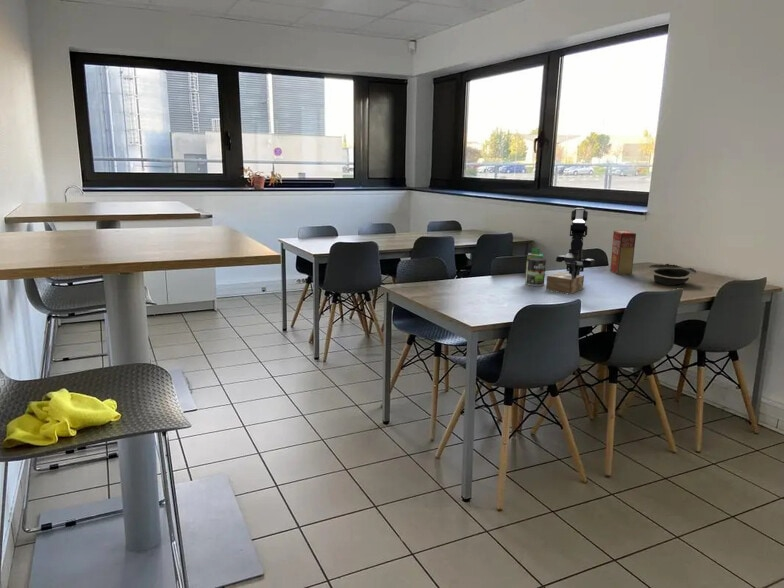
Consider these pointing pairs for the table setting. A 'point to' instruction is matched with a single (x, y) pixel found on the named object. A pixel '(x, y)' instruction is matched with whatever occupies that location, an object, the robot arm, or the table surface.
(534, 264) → the coffee can
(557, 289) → the carton
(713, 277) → the table surface
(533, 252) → the chalk box
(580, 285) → the side flap
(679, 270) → the stone bowl
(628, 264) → the food packaging
